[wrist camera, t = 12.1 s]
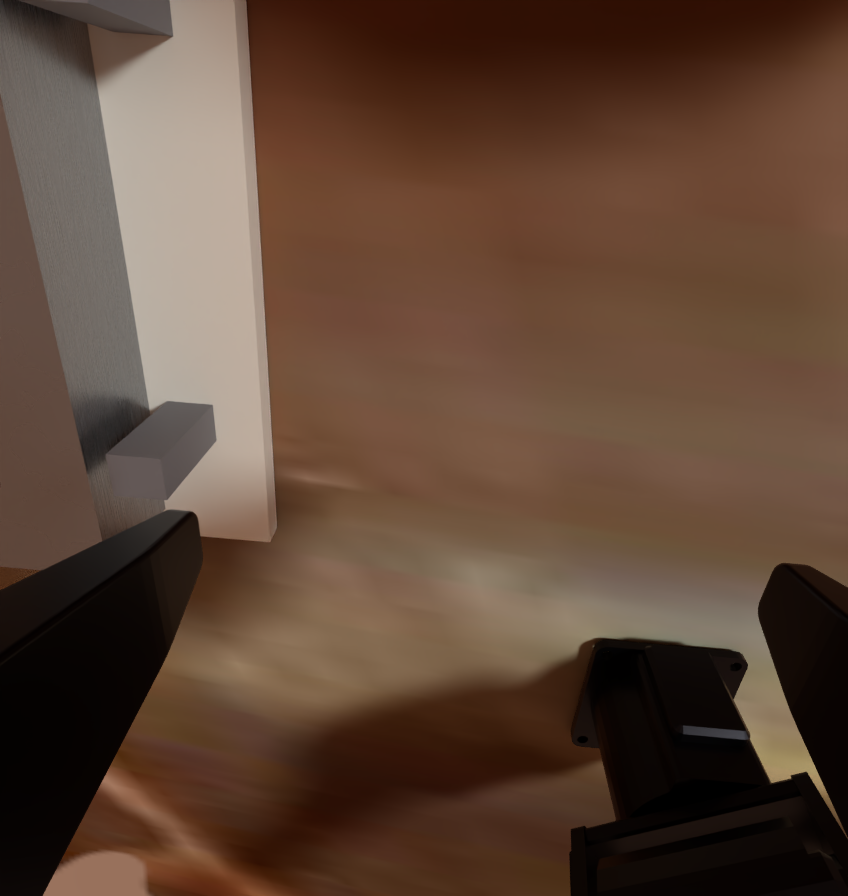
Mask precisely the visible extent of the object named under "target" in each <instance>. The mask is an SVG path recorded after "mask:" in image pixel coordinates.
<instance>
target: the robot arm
mask: <svg viewBox="0 0 848 896" xmlns="http://www.w3.org/2000/svg"><path fill="white" fill-rule="evenodd" d="M202 561H203V552H202V544H201V536H200V529H199V521H198V517H197V515H196V514H195V513H194V512H193V511H185V510H174V509H169V510H166V511H164V512H162V513H159V514H157V515H155V516H153V517H151V518H149V519H147V520H145V521H143V522H141V523H139V524H137V525H135V526H133V527H130V528H128V529H126V530H124V531H122V532H120V533H118V534H116V535H114V536H112V537H110V538H108V539H106V540H104V541H101V542H99V543H97V544H95V545H93V546H91V547H89V548H87V549H85V550H83V551H81V552H79V553H77V554H75V555H72V556H70V557H68V558H66V559H64V560H62V561H60V562H58V563H56V564H54V565H52V566H50V567H48V568H46V569H43V570H41V571H39V572H37V573H35V574H33V575H31V576H29V577H27V578H25V579H23V580H21V581H19V582H17V583H14V584H12V585H10V586H8V587H6V588H4V589H2V590H0V896H43V894H44V892H45V890H46V888H47V886H48V884H49V882H50V880H51V879H52V877H53V875H54V873H55V871H56V869H57V867H58V865H59V863H60V861H61V859H62V857H63V855H64V854H65V852H66V850H67V848H68V846H69V844H70V842H71V840H72V838H73V836H74V834H75V832H76V830H77V829H78V827H79V825H80V823H81V821H82V819H83V817H84V815H85V813H86V811H87V809H88V807H89V805H90V804H91V802H92V800H93V798H94V796H95V794H96V792H97V790H98V788H99V786H100V784H101V782H102V780H103V779H104V777H105V775H106V773H107V771H108V769H109V767H110V765H111V763H112V761H113V759H114V757H115V755H116V754H117V752H118V750H119V748H120V746H121V744H122V742H123V740H124V738H125V736H126V734H127V732H128V730H129V728H130V727H131V725H132V723H133V721H134V719H135V717H136V715H137V713H138V711H139V709H140V707H141V705H142V703H143V702H144V700H145V698H146V696H147V694H148V692H149V690H150V688H151V686H152V684H153V682H154V680H155V678H156V677H157V675H158V673H159V671H160V669H161V667H162V665H163V663H164V661H165V659H166V657H167V655H168V652H169V650H170V647H171V645H172V643H173V640H174V638H175V635H176V632H177V630H178V627H179V625H180V622H181V619H182V617H183V614H184V612H185V609H186V606H187V604H188V601H189V599H190V596H191V593H192V591H193V588H194V585H195V583H196V580H197V578H198V575H199V572H200V570H201V566H202ZM758 617H759V621H760V624H761V627H762V630H763V633H764V636H765V639H766V642H767V645H768V648H769V651H770V654H771V657H772V660H773V663H774V666H775V669H776V672H777V675H778V677H779V680H780V683H781V686H782V689H783V692H784V695H785V698H786V701H787V703H788V706H789V709H790V711H791V714H792V716H793V718H794V721H795V723H796V725H797V728H798V730H799V732H800V734H801V736H802V739H803V741H804V743H805V745H806V747H807V750H808V752H809V754H810V756H811V758H812V760H813V763H814V765H815V767H816V769H817V771H818V774H819V776H820V778H821V780H822V782H823V785H824V787H825V789H826V791H827V793H828V795H829V798H830V800H831V802H832V804H833V806H834V809H835V811H836V813H837V815H838V817H839V820H840V822H841V824H842V826H843V828H844V830H845V833H846V835H847V837H848V587H846V586H844V585H842V584H841V583H839V582H837V581H835V580H834V579H832V578H830V577H828V576H827V575H825V574H823V573H821V572H820V571H818V570H816V569H814V568H813V567H811V566H808V565H802V564H790V563H781V564H779V565H777V566H776V567H775V568H774V570H773V572H772V574H771V576H770V579H769V581H768V583H767V586H766V588H765V590H764V593H763V595H762V597H761V600H760V602H759V606H758ZM605 651H609V652H606V653H603V652H605ZM733 663H734V664H733ZM747 667H748V664H747V662H746V660H745V658H744V656H743V655H742V654H741V653H740V652H736V651H725V650H714V649H703V648H692V647H681V646H669V645H658V644H647V643H636V642H625V641H614V640H602V641H599V642H597V643H596V644H595V646H594V647H593V651H592V655H591V658H590V662H589V666H588V669H587V673H586V677H585V680H584V684H583V688H582V691H581V695H580V699H579V702H578V706H577V710H576V713H575V717H574V721H573V724H572V728H571V738H572V742H573V743H574V744H575V745H577V746H581V747H591V748H600V753H601V757H602V761H603V766H604V770H605V774H606V779H607V783H608V787H609V791H610V796H611V800H612V804H613V809H614V813H615V817H616V821H614V822H610V823H606V824H602V825H598V826H593V827H589V828H586V827H585V826H582V827H578V828H573V829H571V852H570V854H569V855H570V885H571V896H848V839H847V837H846V836H845V834H844V833H843V831H842V829H841V828H840V826H839V824H838V823H837V821H836V819H835V818H834V816H833V814H832V813H831V811H830V809H829V808H828V806H827V805H826V803H825V801H824V800H823V798H822V796H821V795H820V793H819V791H818V790H817V788H816V786H815V785H814V783H813V781H812V780H811V778H810V776H809V775H808V773H807V772H803V773H799V774H795V775H791V779H787V780H783V781H779V782H775V783H771V781H770V779H769V777H768V775H767V773H766V771H765V769H764V767H763V765H762V763H761V761H760V759H759V757H758V755H757V753H756V751H755V749H754V747H753V745H752V743H751V741H750V733H749V731H748V729H747V727H746V725H745V723H744V721H743V718H742V716H741V714H740V712H739V710H738V708H737V706H736V704H735V702H734V700H733V699H734V697H735V695H736V692H737V690H738V688H739V686H740V683H741V681H742V679H743V677H744V675H745V672H746V670H747Z"/></svg>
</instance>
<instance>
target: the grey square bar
mask: <svg viewBox="0 0 848 896" xmlns="http://www.w3.org/2000/svg"><path fill="white" fill-rule="evenodd" d="M149 416H150V410H149V403H148V397H147V391H146V385H145V379H144V373H143V366H142V360H141V354H140V348H139V342H138V335H137V329H136V323H135V317H134V311H133V305H132V298H131V292H130V286H129V280H128V274H127V267H126V261H125V255H124V249H123V243H122V236H121V230H120V224H119V218H118V212H117V206H116V199H115V193H114V187H113V181H112V175H111V168H110V162H109V156H108V150H107V144H106V138H105V131H104V125H103V119H102V113H101V107H100V100H99V94H98V88H97V82H96V76H95V70H94V63H93V57H92V51H91V45H90V39H89V32H88V26H87V23H85V22H82V21H79V20H76V19H73V18H70V17H67V16H64V15H61V14H58V13H55V12H52V11H49V10H46V9H43V8H40V7H37V6H34V5H31V4H28V3H25V2H22V1H19V0H0V567H10V568H21V569H32V570H43V569H46V568H48V567H50V566H52V565H54V564H56V563H58V562H60V561H62V560H64V559H66V558H68V557H70V556H72V555H75V554H77V553H79V552H81V551H83V550H85V549H87V548H89V547H91V546H93V545H95V544H97V543H99V542H101V541H104V540H106V539H108V538H110V537H112V536H114V535H116V534H118V533H120V532H122V531H124V530H126V529H128V528H130V527H133V526H135V525H137V524H139V523H141V522H143V521H145V520H147V519H149V518H151V517H153V516H155V515H157V514H159V513H162V512H163V511H164V510H165V502H164V500H157V499H146V498H134V497H123V496H114V493H113V488H112V483H111V479H110V474H109V469H108V464H107V459H106V453H108V452H109V451H110V450H111V449H112V448H113V447H115V446H116V445H117V444H118V443H119V442H120V441H122V440H123V439H124V438H125V437H126V436H127V435H128V434H130V433H131V432H132V431H133V430H134V429H135V428H137V427H138V426H139V425H140V424H141V423H142V422H144V421H145V420H146V419H147V418H148V417H149Z"/></svg>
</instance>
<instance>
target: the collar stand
mask: <svg viewBox="0 0 848 896" xmlns="http://www.w3.org/2000/svg"><path fill="white" fill-rule="evenodd" d="M19 1H22V2H25V3H28V4H31V5H34V6H37V7H40V8H43V9H46V10H49V11H52V12H55V13H58V14H61V15H64V16H67V17H70V18H73V19H76V20H79V21H82V22H85V23H87V26H88V32H89V39H90V45H91V51H92V57H93V63H94V70H95V76H96V82H97V88H98V94H99V100H100V107H101V113H102V119H103V125H104V131H105V138H106V144H107V150H108V156H109V162H110V168H111V175H112V181H113V187H114V193H115V199H116V206H117V212H118V218H119V224H120V230H121V236H122V243H123V249H124V255H125V261H126V267H127V274H128V280H129V286H130V292H131V298H132V305H133V311H134V317H135V323H136V329H137V335H138V342H139V348H140V354H141V360H142V366H143V373H144V379H145V385H146V391H147V397H148V403H149V410H150V416H149V417H148V418H147V419H146V420H145V421H144V422H142V423H141V424H140V425H139V426H138V427H137V428H135V429H134V430H133V431H132V432H131V433H130V434H128V435H127V436H126V437H125V438H124V439H123V440H122V441H120V442H119V443H118V444H117V445H116V446H115V447H113V448H112V449H111V450H110V451H109V452H108V453H106V459H107V464H108V469H109V474H110V479H111V483H112V488H113V493H114V496H123V497H134V498H146V499H157V500H164V502H165V510H164V511H166V510H169V509H174V510H185V511H193V512H194V513H195V514H196V515H197V517H198V521H199V529H200V536H204V537H215V538H226V539H238V540H249V541H261V542H270V541H271V539H272V537H273V535H274V533H275V531H276V529H277V517H276V500H275V482H274V465H273V448H272V431H271V414H270V397H269V380H268V363H267V346H266V328H265V311H264V294H263V277H262V260H261V243H260V226H259V209H258V192H257V174H256V157H255V140H254V123H253V106H252V89H251V72H250V55H249V38H248V20H247V3H246V0H19ZM164 511H163V512H164Z"/></svg>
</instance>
